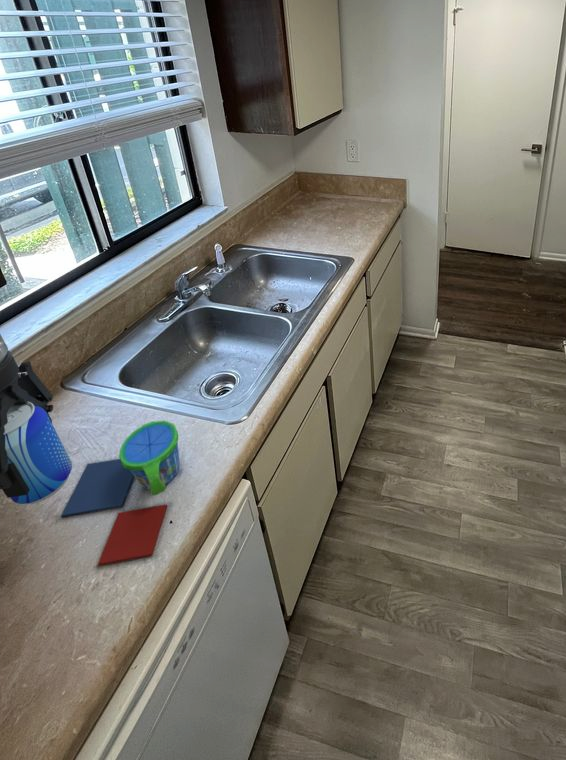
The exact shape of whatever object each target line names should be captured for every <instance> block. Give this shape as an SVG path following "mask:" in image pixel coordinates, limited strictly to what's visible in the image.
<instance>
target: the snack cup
mask: <svg viewBox="0 0 566 760" xmlns="http://www.w3.org/2000/svg"><path fill="white" fill-rule="evenodd" d="M178 442H179V432H178V429H177V427H176V425H175V424H174V423H172V422H169V421H166V420H157V421H155V420H151V421H150V422H147V423H144V424H142V425H141V426H140V427H138V428H137V429H136V430H134V431H133V432H131V433H130V434H129V435H128V436H127V437H126V438H125V440H124V442H123V443H122V445H121V446H120V449H119V459H120V460H121V463H122V466H123V467H124V468H126V469H129V470H130V472H131V473H132V474H133V475H134V478H135V479H136V480H137V481H138V482H139V485H141V486H142V487H143V488H144V489H148V490H150V495H152V496H157V495H159V494H161V493H163V492H165V490H166V489H167V486H166V485H167V484H169V483H170V482H172V480H173V479H174V478H175V477H176V475H177V474H178V473H179V471H180V451H179V444H178Z"/></svg>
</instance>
